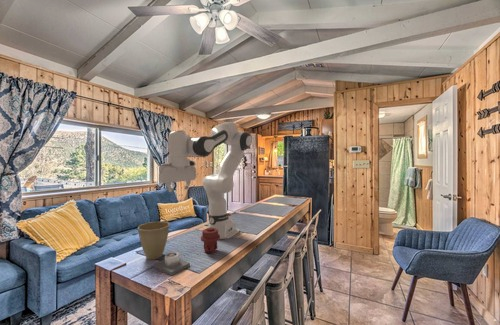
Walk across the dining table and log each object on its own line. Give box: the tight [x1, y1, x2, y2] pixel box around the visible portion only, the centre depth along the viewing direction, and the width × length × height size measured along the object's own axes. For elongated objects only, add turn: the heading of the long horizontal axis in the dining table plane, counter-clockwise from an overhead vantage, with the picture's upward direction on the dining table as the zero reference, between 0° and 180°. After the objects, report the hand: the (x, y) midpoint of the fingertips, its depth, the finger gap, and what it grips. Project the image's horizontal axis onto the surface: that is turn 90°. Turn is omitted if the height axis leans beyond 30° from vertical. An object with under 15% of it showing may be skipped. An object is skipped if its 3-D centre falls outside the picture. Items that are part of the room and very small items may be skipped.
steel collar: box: [164, 251, 180, 267], centre depth 102 cm, size 6×6×4 cm
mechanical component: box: [200, 226, 221, 254], centre depth 119 cm, size 12×10×10 cm
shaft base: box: [153, 254, 191, 276], centre depth 102 cm, size 10×13×6 cm
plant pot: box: [137, 221, 170, 260], centre depth 114 cm, size 15×15×16 cm
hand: (179, 190), depth 111 cm, fingers open, 8 cm apart
